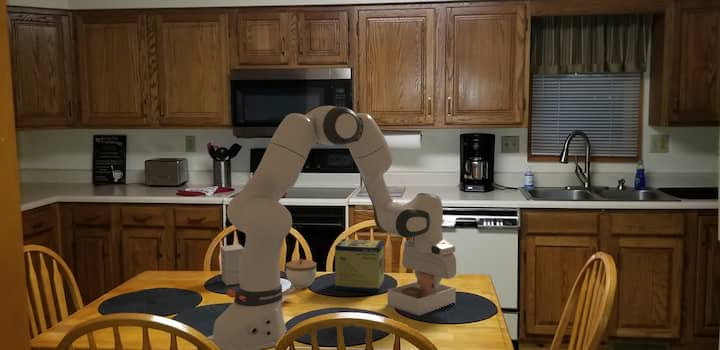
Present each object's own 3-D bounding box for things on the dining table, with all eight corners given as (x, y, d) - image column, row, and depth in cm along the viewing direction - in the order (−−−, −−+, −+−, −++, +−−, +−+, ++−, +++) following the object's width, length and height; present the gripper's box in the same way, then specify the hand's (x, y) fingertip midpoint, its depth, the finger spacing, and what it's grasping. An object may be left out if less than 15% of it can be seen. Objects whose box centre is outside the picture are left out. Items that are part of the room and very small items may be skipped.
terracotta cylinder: (438, 294, 205) (439, 273, 204) (428, 297, 201) (428, 276, 200) (427, 290, 208) (427, 270, 208) (416, 294, 205) (416, 272, 204)
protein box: (379, 292, 215) (379, 247, 213) (334, 290, 218) (334, 245, 216) (384, 283, 225) (384, 240, 223) (341, 281, 229) (341, 238, 227)
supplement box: (241, 277, 234) (240, 243, 232) (246, 283, 227) (245, 248, 225) (221, 280, 231) (220, 245, 229) (225, 285, 224) (224, 250, 222)
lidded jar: (323, 283, 225) (322, 257, 224) (304, 292, 216) (303, 264, 215) (298, 279, 231) (298, 253, 230) (279, 287, 222) (279, 260, 221)
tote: (455, 303, 204) (455, 287, 203) (418, 315, 193) (418, 299, 192) (424, 293, 214) (424, 279, 213) (387, 305, 202) (387, 289, 202)
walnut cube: (413, 308, 197) (413, 293, 196) (401, 305, 201) (401, 289, 200) (424, 305, 200) (424, 289, 200) (412, 301, 204) (412, 286, 203)
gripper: (397, 240, 208) (397, 281, 210) (446, 251, 193) (445, 295, 195) (411, 237, 213) (411, 277, 214) (459, 247, 197) (459, 291, 199)
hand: (428, 286), depth 205 cm, fingers closed on terracotta cylinder, 5 cm apart
